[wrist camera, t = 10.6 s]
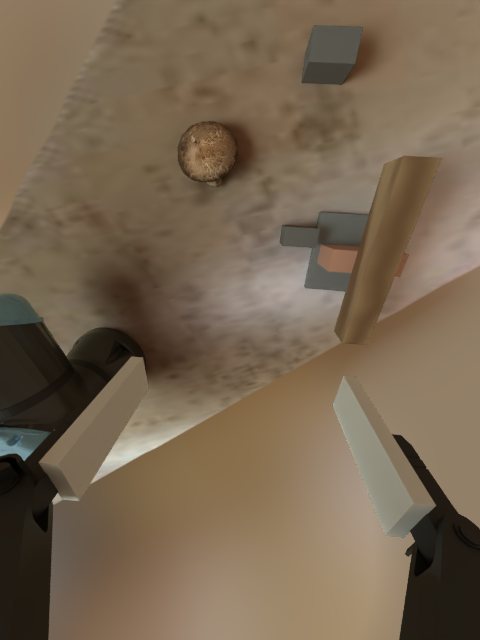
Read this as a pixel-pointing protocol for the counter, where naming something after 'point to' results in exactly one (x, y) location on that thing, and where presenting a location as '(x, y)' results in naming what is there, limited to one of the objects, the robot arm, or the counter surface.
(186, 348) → the counter surface
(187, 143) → the mushroom
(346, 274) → the fulcrum
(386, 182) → the rod
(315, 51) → the grey blocks
